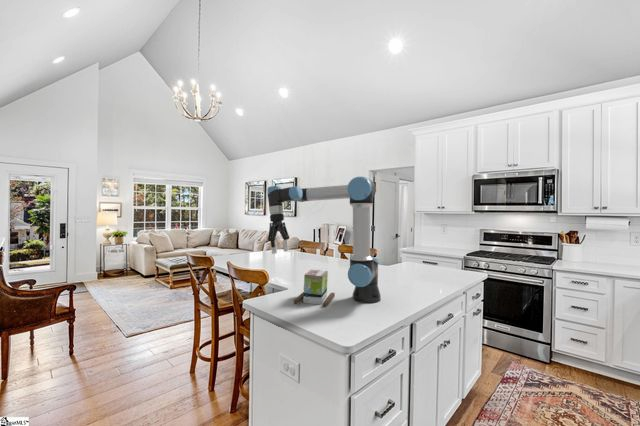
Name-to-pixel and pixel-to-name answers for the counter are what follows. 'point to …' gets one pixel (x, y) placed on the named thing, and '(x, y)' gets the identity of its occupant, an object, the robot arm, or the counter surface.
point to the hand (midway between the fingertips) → (280, 252)
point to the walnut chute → (323, 302)
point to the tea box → (315, 286)
